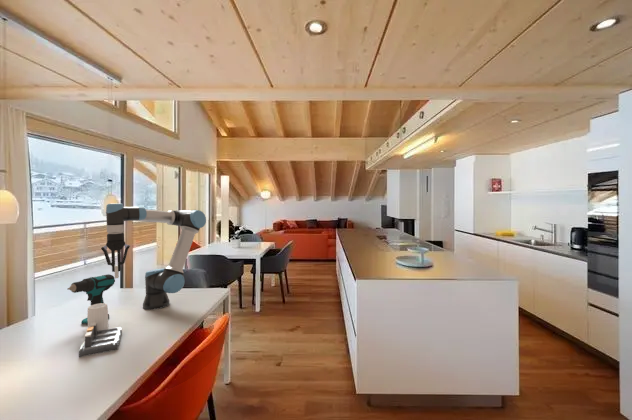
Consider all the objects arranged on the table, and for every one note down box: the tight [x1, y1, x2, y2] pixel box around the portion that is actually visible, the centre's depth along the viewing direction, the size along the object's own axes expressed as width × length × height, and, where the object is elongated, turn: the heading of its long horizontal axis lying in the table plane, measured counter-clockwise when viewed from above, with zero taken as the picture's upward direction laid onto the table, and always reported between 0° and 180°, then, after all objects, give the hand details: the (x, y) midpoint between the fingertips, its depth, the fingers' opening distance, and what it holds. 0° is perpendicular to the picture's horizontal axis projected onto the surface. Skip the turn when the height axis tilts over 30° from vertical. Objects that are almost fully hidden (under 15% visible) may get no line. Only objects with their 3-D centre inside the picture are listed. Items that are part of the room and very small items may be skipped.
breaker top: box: [84, 331, 93, 347], centre depth 135 cm, size 2×4×5 cm, turn 28°
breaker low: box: [91, 322, 97, 335], centre depth 147 cm, size 2×4×5 cm, turn 28°
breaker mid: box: [86, 326, 94, 341], centre depth 141 cm, size 2×4×5 cm, turn 27°
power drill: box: [67, 273, 116, 325], centre depth 169 cm, size 26×9×25 cm, turn 169°
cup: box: [86, 302, 109, 331], centre depth 154 cm, size 8×8×14 cm
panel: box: [78, 326, 123, 358], centre depth 143 cm, size 14×20×3 cm
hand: (116, 277), depth 161 cm, fingers closed
